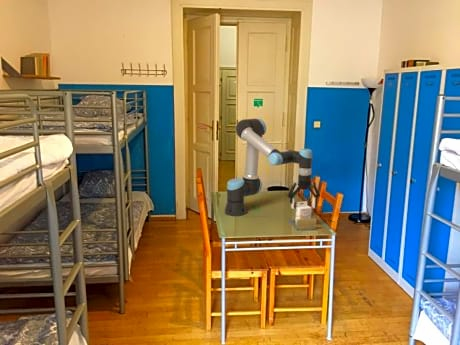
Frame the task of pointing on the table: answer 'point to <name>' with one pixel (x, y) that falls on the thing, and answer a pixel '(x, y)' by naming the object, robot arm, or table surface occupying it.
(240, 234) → the table surface
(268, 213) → the table surface
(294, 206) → the mug
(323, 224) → the table surface
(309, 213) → the ink box
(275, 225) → the table surface
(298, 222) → the bracket
